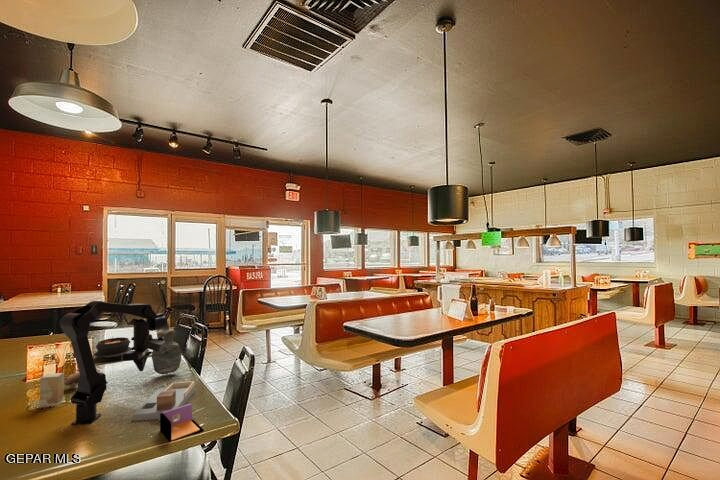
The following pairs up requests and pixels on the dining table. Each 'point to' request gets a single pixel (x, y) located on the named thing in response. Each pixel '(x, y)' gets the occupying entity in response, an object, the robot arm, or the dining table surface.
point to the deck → (150, 406)
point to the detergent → (167, 353)
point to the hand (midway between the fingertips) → (141, 370)
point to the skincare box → (51, 389)
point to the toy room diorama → (178, 423)
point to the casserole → (112, 347)
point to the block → (166, 400)
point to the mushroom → (72, 380)
